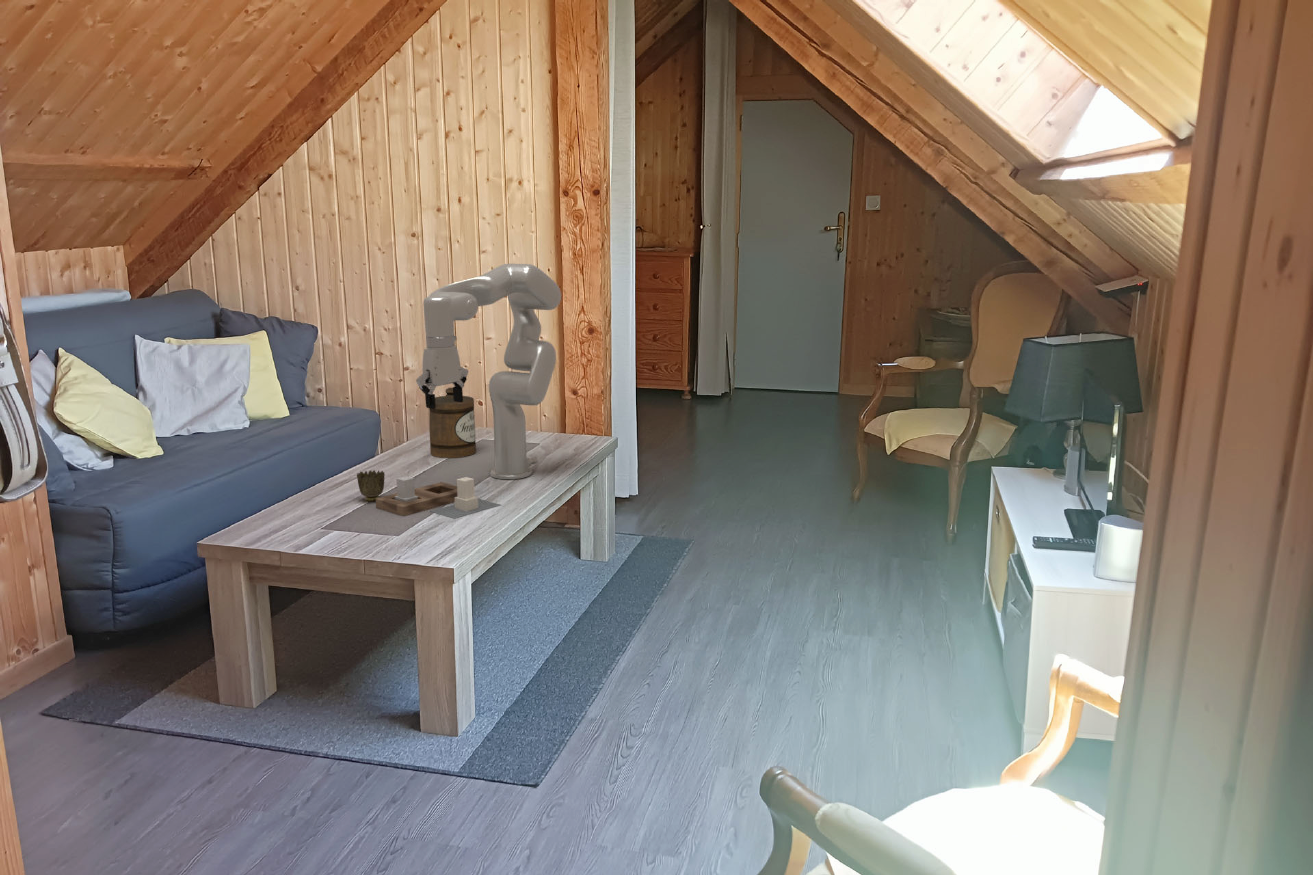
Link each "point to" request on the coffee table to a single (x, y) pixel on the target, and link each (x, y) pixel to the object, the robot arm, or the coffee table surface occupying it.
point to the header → (420, 499)
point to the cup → (371, 484)
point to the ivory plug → (466, 495)
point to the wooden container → (452, 427)
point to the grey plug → (405, 489)
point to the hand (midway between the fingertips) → (444, 404)
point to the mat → (456, 513)
